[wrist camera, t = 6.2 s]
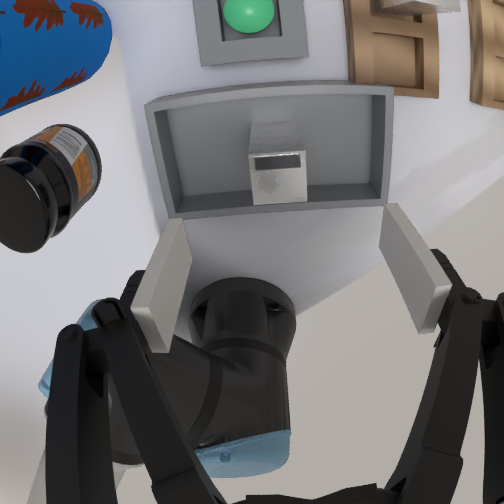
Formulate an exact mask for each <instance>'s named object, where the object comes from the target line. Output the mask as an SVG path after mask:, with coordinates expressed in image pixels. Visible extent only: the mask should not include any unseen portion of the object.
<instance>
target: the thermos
mask: <svg viewBox="0 0 504 504" xmlns="http://www.w3.org/2000/svg"><path fill="white" fill-rule="evenodd" d="M111 39H112V30H111V21H110V19H109V17H108V15H107V13H106V12H105V10H104V8H102V7H101V6H100V5H98V4H97V3H95V2H94V1H92V0H0V116H2V115H4V114H6V113H9V112H11V111H13V110H16V109H18V108H21V107H23V106H25V105H28V104H30V103H33V102H36V101H38V100H41V99H43V98H46V97H49V96H52V95H54V94H57V93H60V92H62V91H64V90H66V89H69V88H71V87H73V86H76V85H78V84H80V83H82V82H84V81H86V80H87V79H89V78H90V77H91V76H92V75H93V74H94V73H95V72H96V71H97V70H98V69H99V68H100V67H101V66H102V64H103V62H104V60H105V58H106V56H107V55H108V53H109V49H110V44H111Z"/></svg>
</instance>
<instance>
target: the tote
mask: <svg viewBox="0 0 504 504" xmlns="http://www.w3.org/2000/svg"><path fill="white" fill-rule="evenodd" d="M144 108H145V114H146V119H147V124H148V129H149V133H150V138H151V143H152V148H153V152H154V157H155V161H156V166H157V170H158V174H159V179H160V183H161V187H162V191H163V195H164V200H165V204H166V208H167V212H168V216H169V219H175V218H183V220H185V219H196V218H207V217H218V216H230V215H242V214H255V213H268V212H282V211H297V210H313V209H330V208H348V207H369V206H384V204H387V202H388V192H389V182H390V170H391V156H392V139H393V112H394V87H392V86H389V85H386V84H383V83H380V82H374V84H367V83H354V82H352V81H345V80H317V81H287V82H271V83H258V84H247V85H237V86H228V87H220V88H213V89H206V90H199V91H192V92H186V93H180V94H175V95H169V96H164V97H159V98H157V99H155V100H153V101H151V102H149V103H147V104H145V105H144ZM282 121H292V122H293V124H294V126H295V128H296V130H297V132H298V135H299V137H300V139H301V141H302V144H303V146H304V148H305V150H306V174H307V202H292V203H277V204H264V205H254V203H253V194H252V185H251V176H250V167H249V158H248V151H249V142H250V132H251V124H255V123H268V122H282Z"/></svg>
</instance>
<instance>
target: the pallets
mask: <svg viewBox="0 0 504 504" xmlns="http://www.w3.org/2000/svg"><path fill="white" fill-rule="evenodd" d="M343 3H344V13H345V24H346V36H347V51H348V70H349V81H352V82H354V83H367V84H374V82H380V83H383V84H386V85H389V86H392V87H394V95H402V96H414V97H425V98H434V99H439V38H438V21H437V13H435V14H426V15H417V16H410V17H405V16H398V15H391V14H384V13H375V12H370V4H369V0H343ZM468 8H469V20H470V37H471V88H470V101H472V102H475V103H477V104H479V105H482V106H487V107H493V108H498V109H502V110H504V0H468Z"/></svg>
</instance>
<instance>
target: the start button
mask: <svg viewBox="0 0 504 504" xmlns="http://www.w3.org/2000/svg"><path fill="white" fill-rule="evenodd" d="M223 11H224V17H225V19H226V21H227V22H228V24H229V25H230V26H231V27H232V28H233V29H235V30H236V31H238V32H240V33H243V34H257V33H260V32H262V31H264V30H265V29H266V28H267V27H268V26H269V25H270V23H271V21H272V19H273V16H274V5H273V3H272V1H271V0H227V1H226V2H225V5H224V10H223Z"/></svg>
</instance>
